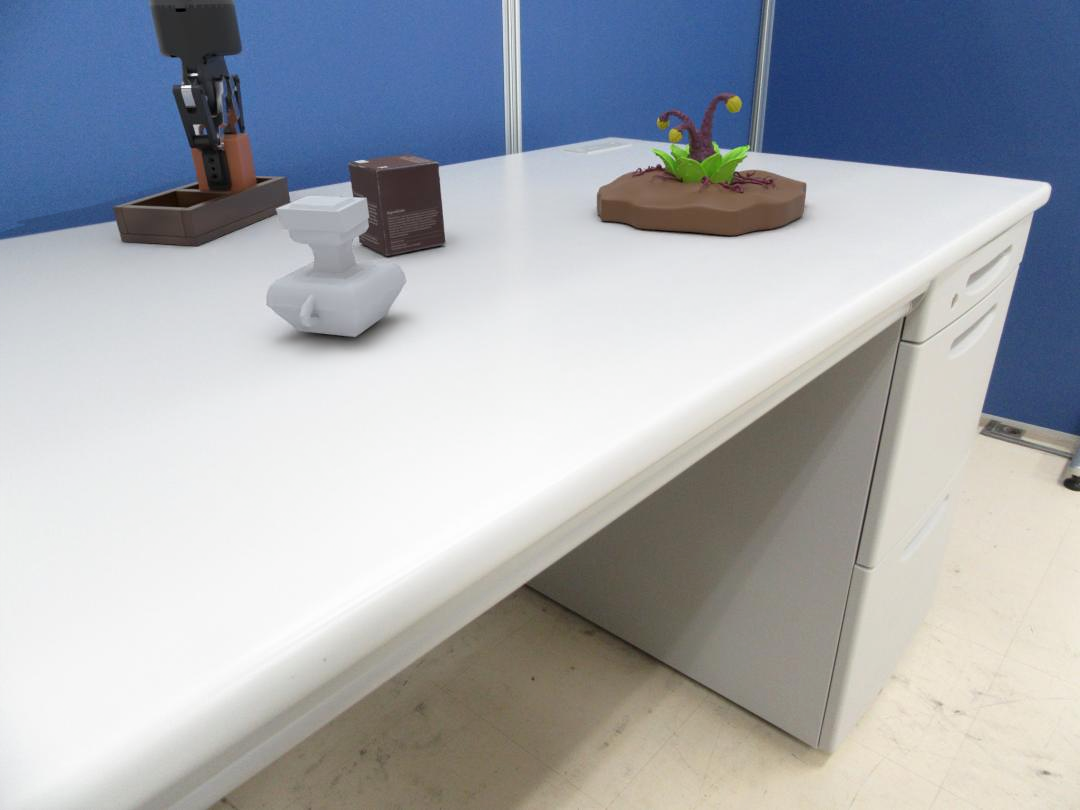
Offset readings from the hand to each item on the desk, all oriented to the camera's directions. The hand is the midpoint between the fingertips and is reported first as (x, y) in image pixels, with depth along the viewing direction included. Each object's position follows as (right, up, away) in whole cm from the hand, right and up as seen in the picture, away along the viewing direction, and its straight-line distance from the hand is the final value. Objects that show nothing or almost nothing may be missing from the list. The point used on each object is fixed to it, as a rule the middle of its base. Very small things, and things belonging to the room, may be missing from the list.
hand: (228, 183), depth 82 cm
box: (+20, -9, -11) cm, 25 cm away
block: (0, -1, +1) cm, 1 cm away
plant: (+49, -3, -2) cm, 49 cm away
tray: (-1, -5, -2) cm, 5 cm away
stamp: (+19, -18, -29) cm, 40 cm away
